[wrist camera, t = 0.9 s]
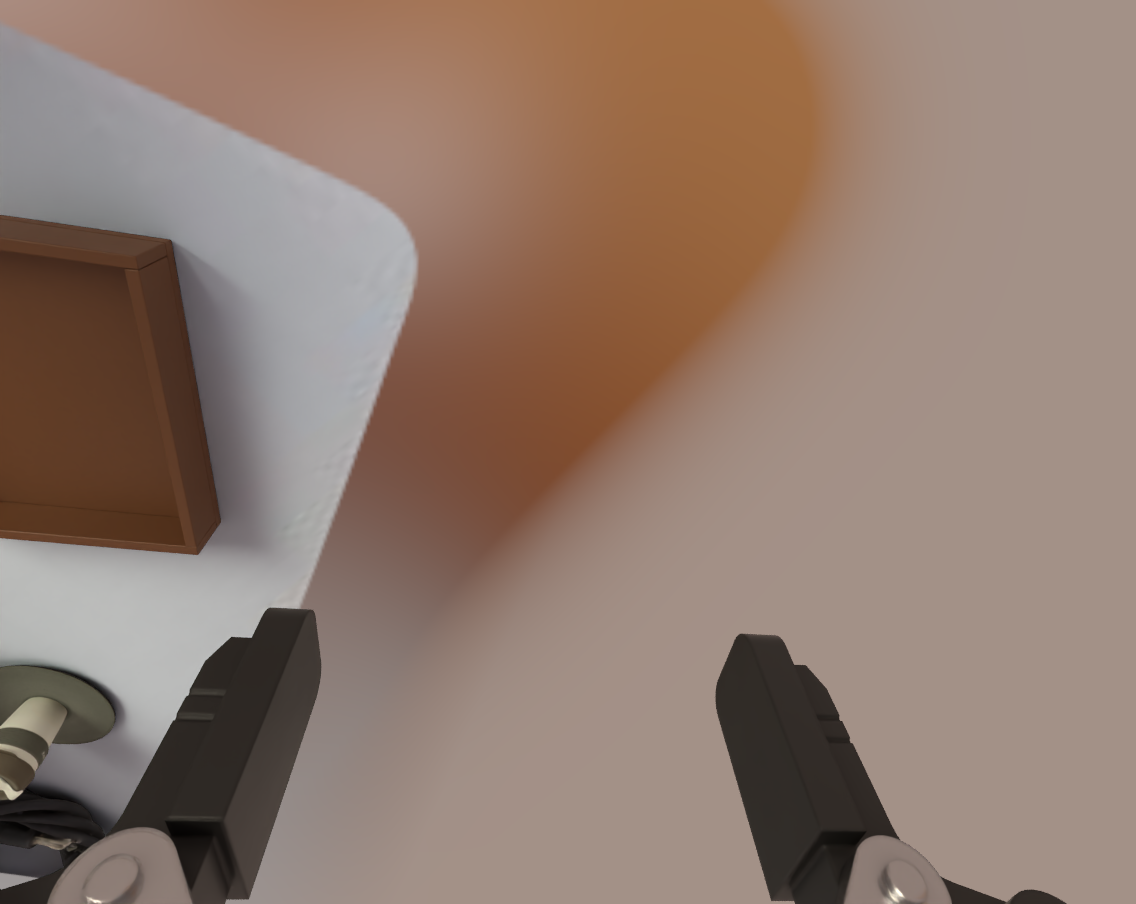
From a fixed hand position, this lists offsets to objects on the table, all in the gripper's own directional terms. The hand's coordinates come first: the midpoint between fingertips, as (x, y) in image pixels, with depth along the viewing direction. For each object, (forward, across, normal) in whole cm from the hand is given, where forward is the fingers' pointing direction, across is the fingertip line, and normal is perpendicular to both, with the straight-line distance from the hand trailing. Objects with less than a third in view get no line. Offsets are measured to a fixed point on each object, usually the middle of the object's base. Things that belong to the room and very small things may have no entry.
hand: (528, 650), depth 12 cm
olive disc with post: (+17, +27, +28) cm, 42 cm away
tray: (+17, +20, +5) cm, 27 cm away
